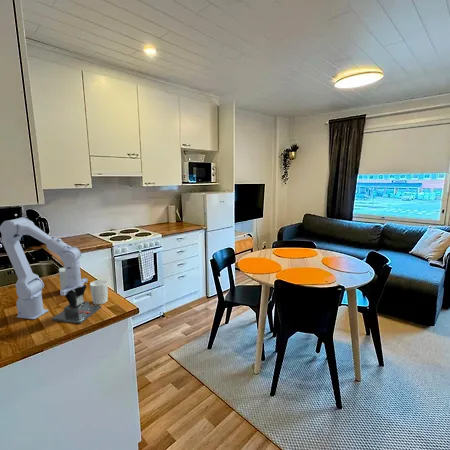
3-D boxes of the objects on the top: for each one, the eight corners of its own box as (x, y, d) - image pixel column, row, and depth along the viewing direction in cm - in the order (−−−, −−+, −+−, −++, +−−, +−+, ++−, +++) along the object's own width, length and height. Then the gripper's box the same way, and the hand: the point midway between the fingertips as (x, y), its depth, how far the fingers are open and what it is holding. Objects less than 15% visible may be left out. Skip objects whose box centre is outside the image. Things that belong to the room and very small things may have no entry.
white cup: (111, 301, 135) (110, 282, 133) (95, 306, 130) (93, 287, 128) (104, 296, 140) (103, 278, 139) (89, 301, 135) (87, 282, 133)
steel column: (70, 312, 121) (68, 297, 120) (76, 308, 125) (74, 293, 124) (78, 313, 121) (76, 298, 119) (84, 309, 124) (82, 294, 123)
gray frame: (52, 320, 118) (50, 310, 117) (75, 305, 131) (74, 296, 130) (80, 323, 115) (79, 313, 114) (101, 307, 129) (100, 298, 128)
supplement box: (77, 291, 146) (75, 269, 144) (61, 294, 142) (59, 272, 140) (76, 286, 152) (73, 265, 150) (60, 289, 148) (58, 268, 146)
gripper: (69, 282, 112) (72, 312, 114) (92, 269, 126) (94, 297, 128) (54, 280, 113) (58, 310, 116) (78, 269, 127) (81, 295, 130)
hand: (76, 303), depth 122 cm, fingers closed on steel column, 4 cm apart
